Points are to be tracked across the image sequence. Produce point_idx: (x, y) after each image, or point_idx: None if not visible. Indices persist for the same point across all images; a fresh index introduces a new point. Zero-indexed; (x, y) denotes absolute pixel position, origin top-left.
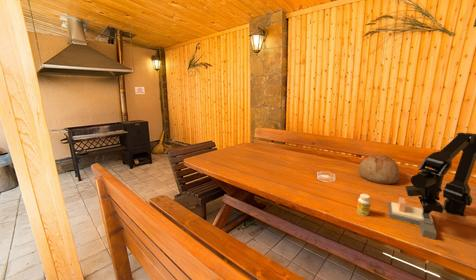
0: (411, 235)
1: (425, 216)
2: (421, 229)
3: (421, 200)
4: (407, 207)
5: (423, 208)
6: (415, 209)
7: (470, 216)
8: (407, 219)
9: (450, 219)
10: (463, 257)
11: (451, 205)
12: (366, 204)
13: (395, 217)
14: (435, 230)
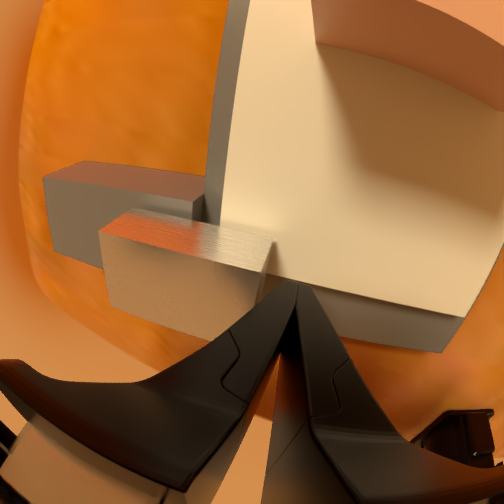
0: (64, 95)
1: (148, 268)
2: (118, 171)
3: (322, 489)
4: (485, 162)
5: (229, 338)
6: (453, 246)
7: None
8: (220, 72)
9: (384, 406)
10: (47, 285)
11: (452, 457)
12: None
13: None
14: (81, 260)
